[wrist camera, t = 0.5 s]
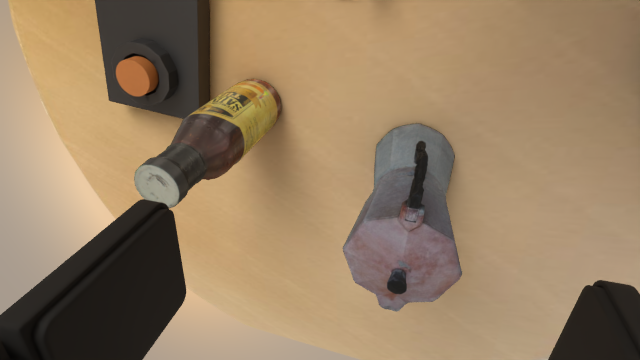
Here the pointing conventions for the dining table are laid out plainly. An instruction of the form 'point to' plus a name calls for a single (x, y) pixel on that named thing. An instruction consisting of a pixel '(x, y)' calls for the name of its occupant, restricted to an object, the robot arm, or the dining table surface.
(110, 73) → the grey push button box
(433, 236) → the moka pot
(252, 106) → the sauce bottle
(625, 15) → the dining table surface
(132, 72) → the button
